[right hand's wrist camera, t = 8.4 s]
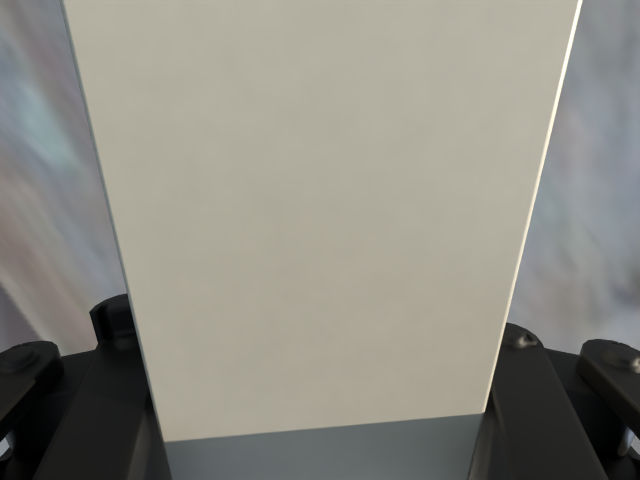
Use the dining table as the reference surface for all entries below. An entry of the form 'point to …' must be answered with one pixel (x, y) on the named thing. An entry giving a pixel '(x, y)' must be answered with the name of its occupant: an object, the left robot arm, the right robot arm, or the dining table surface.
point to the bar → (320, 218)
